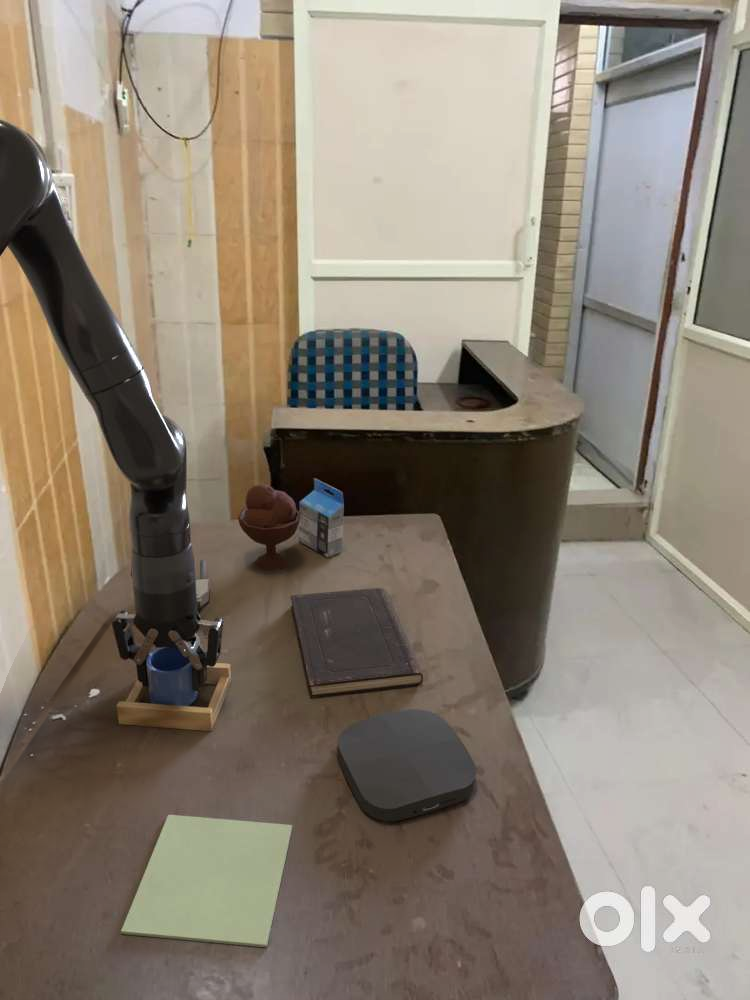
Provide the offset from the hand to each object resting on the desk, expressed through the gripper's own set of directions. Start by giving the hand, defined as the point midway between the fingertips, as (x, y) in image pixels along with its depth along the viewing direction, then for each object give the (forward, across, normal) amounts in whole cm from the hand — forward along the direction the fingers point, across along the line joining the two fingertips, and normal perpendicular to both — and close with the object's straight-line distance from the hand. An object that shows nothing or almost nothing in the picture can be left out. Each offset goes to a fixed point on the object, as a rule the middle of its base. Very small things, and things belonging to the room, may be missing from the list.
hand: (173, 684), depth 101 cm
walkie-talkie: (+3, +7, -25) cm, 26 cm away
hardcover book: (+3, -22, -16) cm, 28 cm away
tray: (+3, 0, 0) cm, 3 cm away
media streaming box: (+3, -31, +9) cm, 33 cm away
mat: (+3, -12, +26) cm, 29 cm away
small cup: (+2, 0, 0) cm, 2 cm away
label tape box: (+3, -13, -46) cm, 48 cm away
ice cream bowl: (+3, -5, -39) cm, 40 cm away
